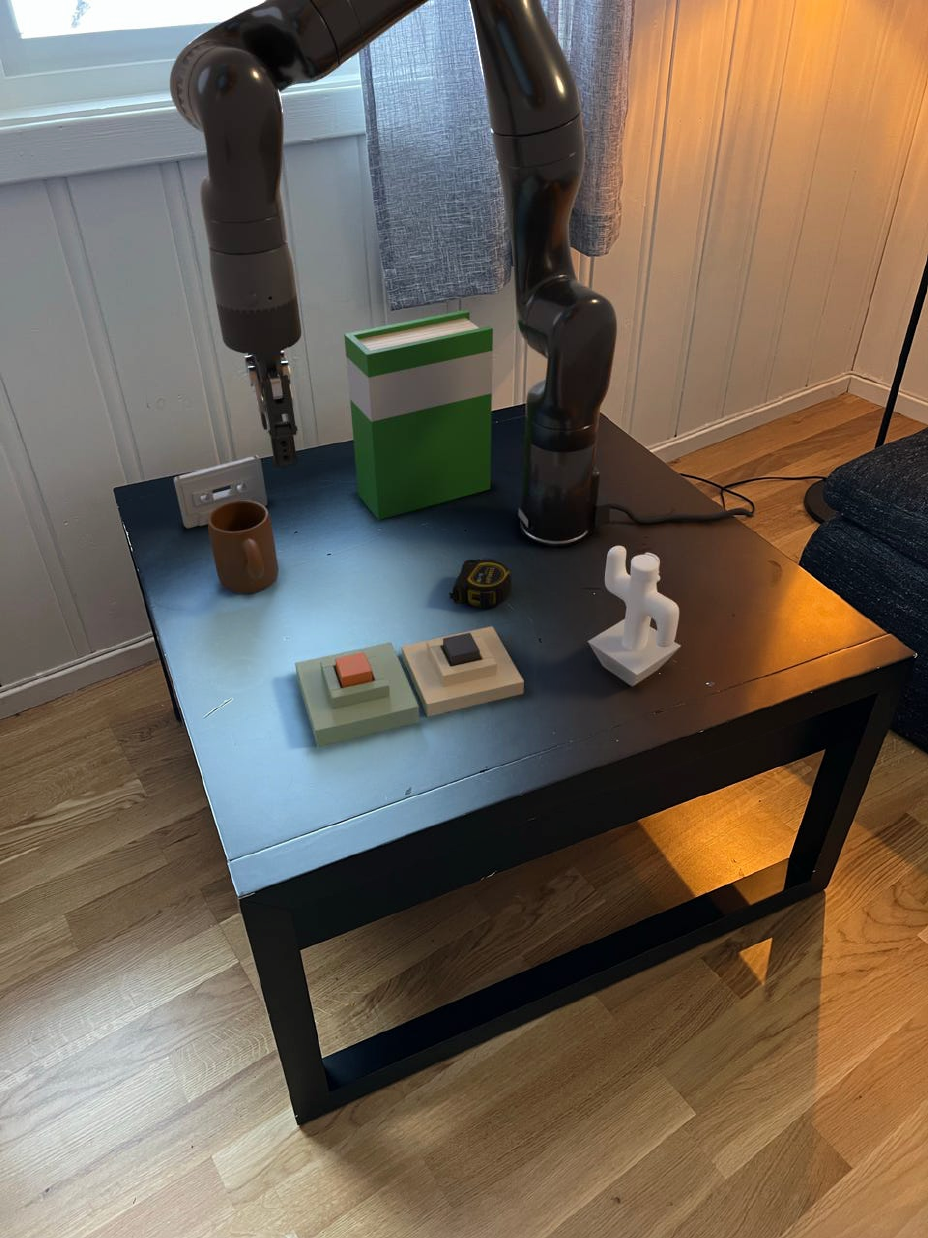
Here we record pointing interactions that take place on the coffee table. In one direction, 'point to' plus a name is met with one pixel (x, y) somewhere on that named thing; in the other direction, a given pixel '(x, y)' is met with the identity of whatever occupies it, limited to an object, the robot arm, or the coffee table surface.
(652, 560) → the figurine
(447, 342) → the hardback book
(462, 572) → the tape measure
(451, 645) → the key
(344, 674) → the key
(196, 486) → the cassette
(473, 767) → the coffee table surface
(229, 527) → the mug
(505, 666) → the beige push button
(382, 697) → the green stepped square block
